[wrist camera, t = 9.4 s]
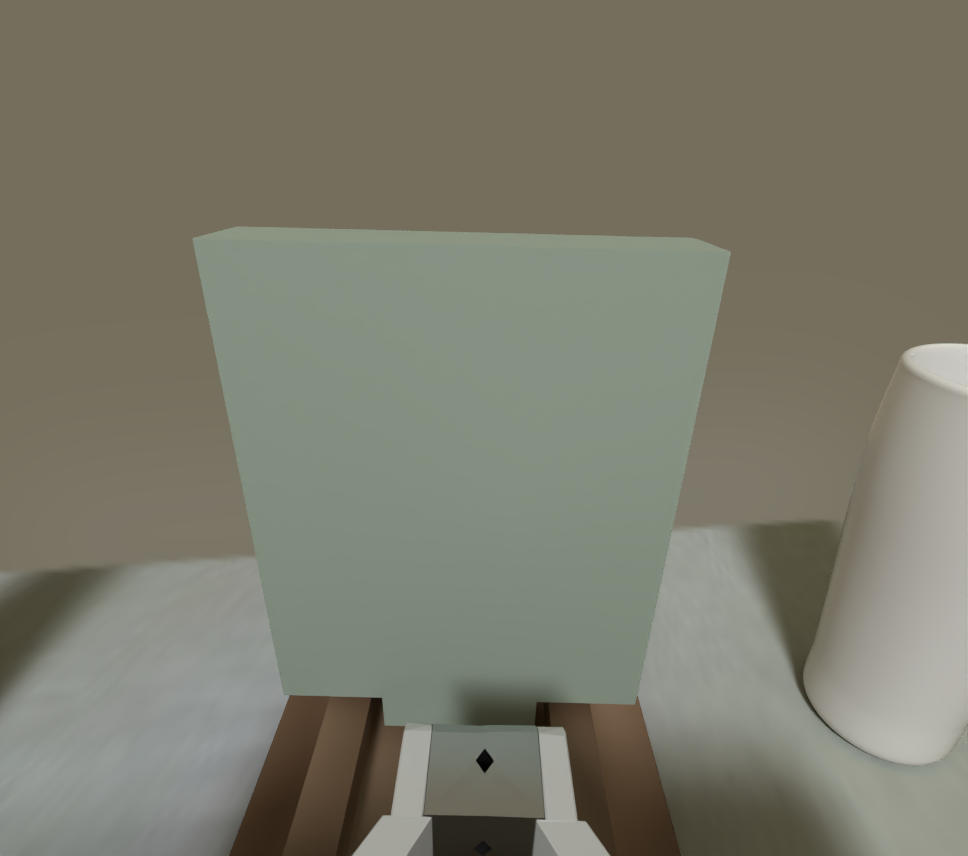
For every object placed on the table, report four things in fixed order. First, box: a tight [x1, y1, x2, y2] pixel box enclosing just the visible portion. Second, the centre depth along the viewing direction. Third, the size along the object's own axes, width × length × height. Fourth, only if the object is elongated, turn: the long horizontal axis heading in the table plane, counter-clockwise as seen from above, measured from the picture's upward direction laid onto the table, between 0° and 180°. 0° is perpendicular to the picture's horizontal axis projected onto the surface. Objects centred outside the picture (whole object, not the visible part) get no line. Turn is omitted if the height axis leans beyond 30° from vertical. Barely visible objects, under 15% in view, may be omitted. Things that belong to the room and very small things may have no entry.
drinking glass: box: [803, 343, 968, 766], centre depth 20 cm, size 7×7×15 cm
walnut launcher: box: [229, 695, 681, 856], centre depth 18 cm, size 14×21×6 cm, turn 179°
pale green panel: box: [193, 227, 731, 726], centre depth 14 cm, size 10×2×14 cm, turn 89°
